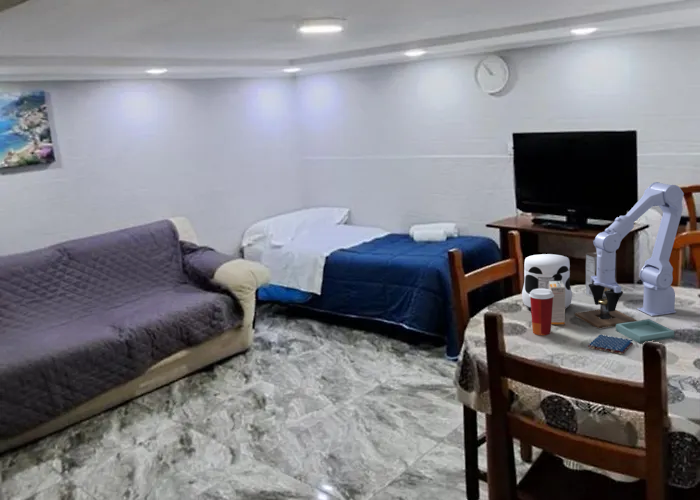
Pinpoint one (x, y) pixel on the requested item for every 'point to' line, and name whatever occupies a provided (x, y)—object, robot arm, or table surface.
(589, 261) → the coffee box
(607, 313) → the gunmetal pin
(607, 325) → the walnut socket
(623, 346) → the woven mat
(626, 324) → the teal tray
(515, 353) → the table surface
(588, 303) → the table surface
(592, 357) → the table surface
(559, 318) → the supplement box
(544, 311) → the paper cup
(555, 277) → the milk container
